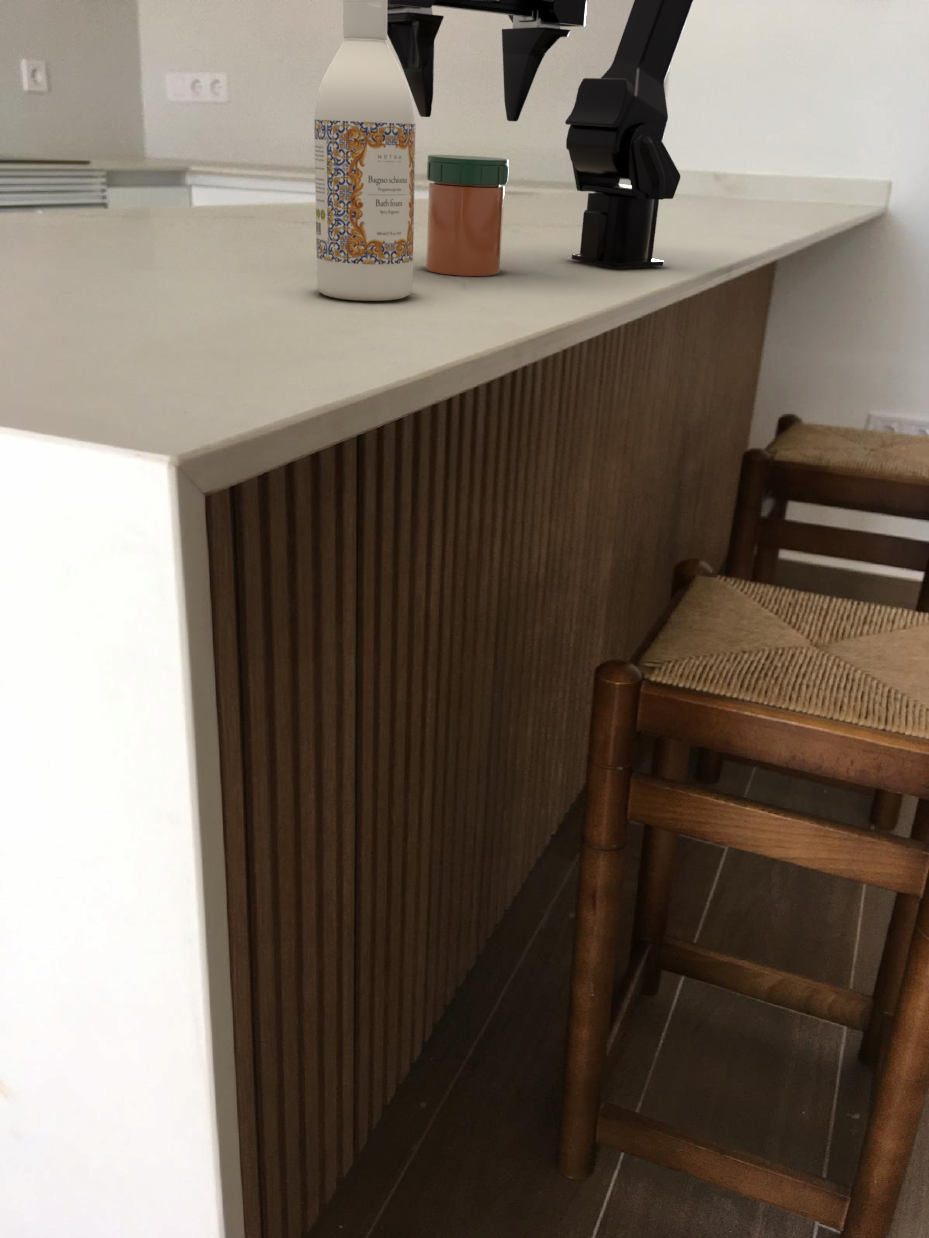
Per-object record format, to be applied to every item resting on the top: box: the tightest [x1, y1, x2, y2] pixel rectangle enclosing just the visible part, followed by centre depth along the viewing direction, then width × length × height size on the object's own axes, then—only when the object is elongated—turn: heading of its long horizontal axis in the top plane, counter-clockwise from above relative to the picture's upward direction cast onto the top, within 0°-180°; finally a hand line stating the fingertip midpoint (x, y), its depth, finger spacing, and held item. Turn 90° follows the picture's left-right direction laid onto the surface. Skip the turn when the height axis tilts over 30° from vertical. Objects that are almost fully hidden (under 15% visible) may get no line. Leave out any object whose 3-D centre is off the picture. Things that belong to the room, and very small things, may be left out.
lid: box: [426, 154, 510, 186], centre depth 90 cm, size 7×7×2 cm
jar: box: [425, 181, 506, 277], centre depth 91 cm, size 6×6×9 cm
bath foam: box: [313, 0, 417, 302], centre depth 74 cm, size 7×7×20 cm
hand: (469, 119), depth 88 cm, fingers open, 8 cm apart
